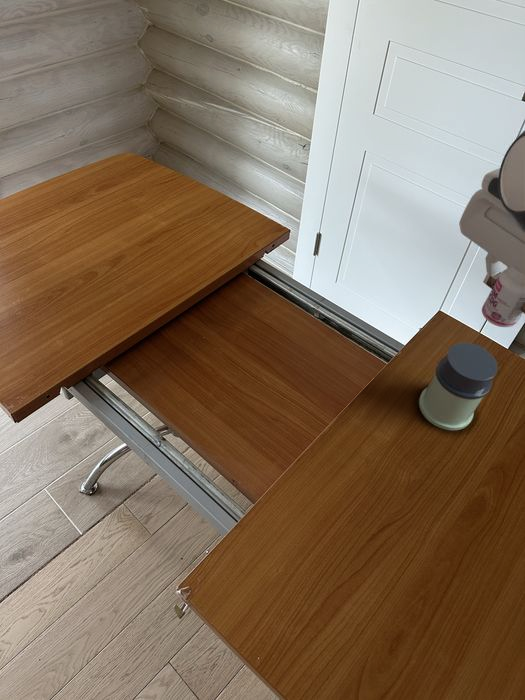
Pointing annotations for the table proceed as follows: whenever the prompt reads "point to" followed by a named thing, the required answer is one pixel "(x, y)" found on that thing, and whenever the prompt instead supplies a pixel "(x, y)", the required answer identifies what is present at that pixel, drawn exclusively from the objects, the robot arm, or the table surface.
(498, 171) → the robot arm
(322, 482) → the table surface
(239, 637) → the table surface
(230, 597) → the table surface
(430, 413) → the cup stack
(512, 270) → the pill bottle
